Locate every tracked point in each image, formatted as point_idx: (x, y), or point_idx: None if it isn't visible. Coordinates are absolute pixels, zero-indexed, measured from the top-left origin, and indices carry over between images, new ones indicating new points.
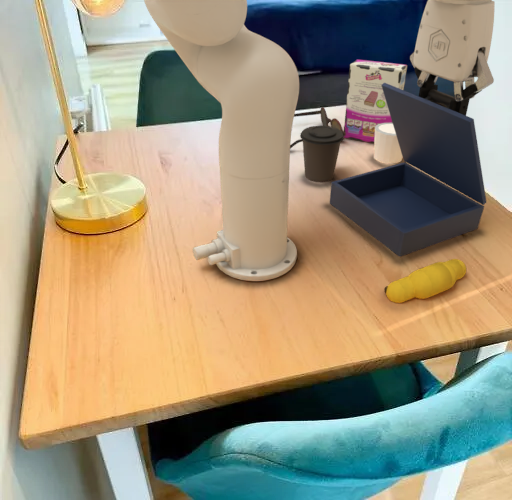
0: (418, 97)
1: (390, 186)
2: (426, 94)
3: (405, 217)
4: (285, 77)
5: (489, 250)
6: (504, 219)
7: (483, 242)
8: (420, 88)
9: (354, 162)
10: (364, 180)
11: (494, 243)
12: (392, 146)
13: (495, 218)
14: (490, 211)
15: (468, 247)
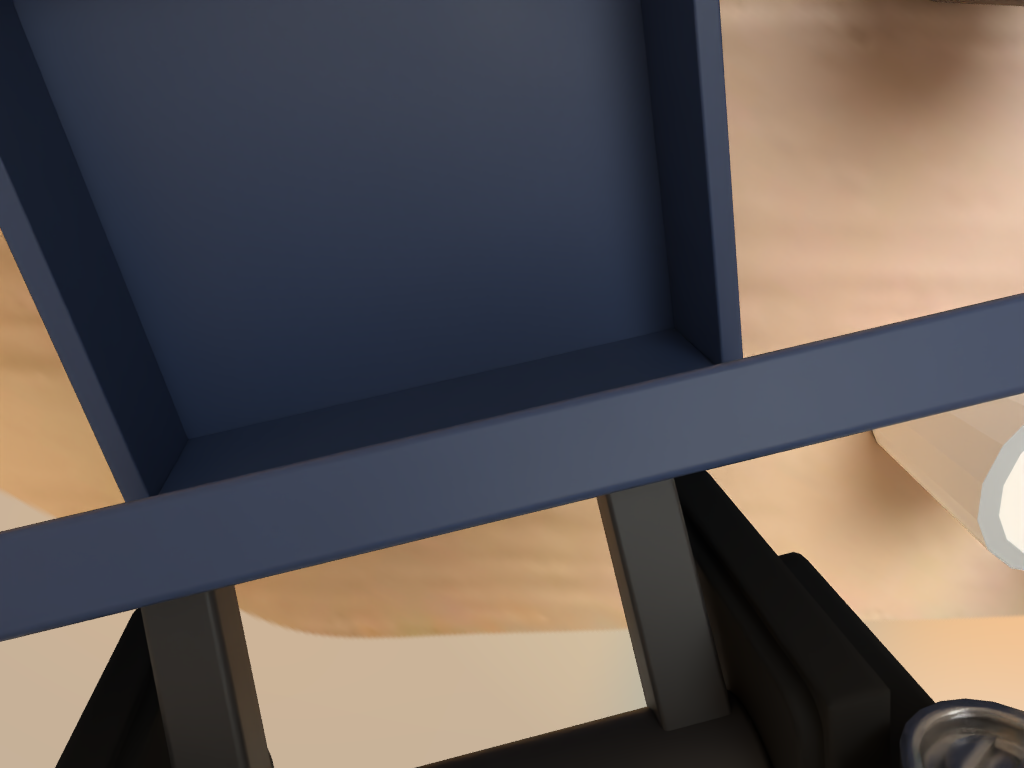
0: (539, 477)
1: (668, 257)
2: (757, 707)
3: (354, 173)
4: None
5: (16, 423)
6: (262, 609)
7: (89, 433)
8: (871, 692)
9: (1008, 223)
10: (682, 48)
11: (74, 473)
12: (951, 419)
13: (278, 581)
14: (339, 591)
15: (53, 347)
